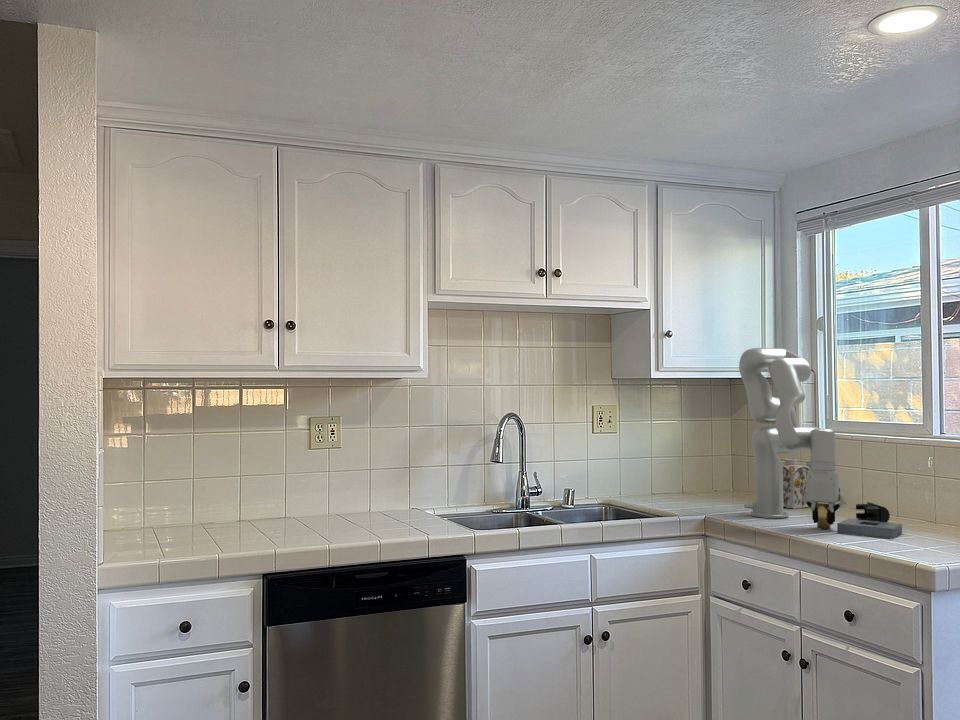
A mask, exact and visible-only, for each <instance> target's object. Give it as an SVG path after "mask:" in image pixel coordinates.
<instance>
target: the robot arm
mask: <svg viewBox="0 0 960 720" xmlns="http://www.w3.org/2000/svg"><path fill="white" fill-rule="evenodd" d="M738 364H739V365H738V366H739V367H738V368H739V374H740V376H741V379H742V383H743V384H744V388H745V392H746V397H747V398H746V399H747V402H748V408H749V413H750V416H751V419H752V421H754V422H755V424H763V425H766V424H767V425H771V424H775V426H761V427H759V428H756V429H755V430H754V431H753V433H752V434H751V439H750V440H751V447H752V451H753V459H754V499H755V501H754V502H744V504H743V505H744V508H745V509H751V510H752V511H750V516H751V517H756V518H763V519H785V517H786V518H788V517H789V513H788V512H785V511H784V508H783V465H782V464H783V462H782V460H781V459H780V456H779V455H778V454H791V453H795V452H797V451H801V450H802V451H803V450H805V451H807V450H808V451H809V450H810V460H809V462H807V461H806V464H805V465H806V466H808V467H809V468H810V470H808V473H807V479H806V490H805V494H804V496H803V497H802V498H801V500H802V501H803V502H804V503H806V504H807V505H808V506H809V507H810V510H811V511H812V512H811V513H812V514H811V516H812V517H811V518H812V521H813V524H817V503H829V508H830V512H829V513H828V524H829V525H830V526H831V525H834V523H835V522H836V512H837V510H839V509H840V508H841V507H843V506H844V505H846V504H847V500H846V499H845V498H844V497H843V494H842V492H841V491H842V490H841V484H840V477H839V473H838V471H836V469H837V468H836V432H835V431H834V430H833V429H831V428H820V427H816V426H815V427H814V426H799V422H798V418H797V413H796V409H795V407H796V406H798V405H800V404H801V403H803V402H805V399H806V393H805V392H804V389H803V387H802V382H803V383H804V382H806V381H808V379H810V377H811V373H812V372H811V371H812V370H811V366H810V364H809V362H808V361H807V360H806V359H805V358H804V357H802V356H800V355H798V354H796V353H794V352H792V351H789V350H788V349H786V348H779V347H778V348H777V347H754V348H748V349H747V350H745V351H743V353H742V354H741V356H740V358H739V361H738ZM762 372H769V375H770V378H771V381H772V385H773V386H774V389H775V392H776V395H777V397H776V396H773V394H772V390H771V389H772V388H771V385H770V383H769V381H768V379H767V378H766V377H765V375H763V373H762ZM811 501H812V502H811ZM837 502H838V503H837Z"/></svg>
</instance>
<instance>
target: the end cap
mask: <svg viewBox="0 0 960 720" xmlns="http://www.w3.org/2000/svg"><path fill="white" fill-rule="evenodd" d="M855 510H856V511H857V510H859V511H861V510H863V511H864V512H862V513H861V512H857V513H855V517H856V518H855V519H858V520H868V521H879V522H889V520H890V519H891V516H890V515H891V514H890V511H889V509H888V508H886V507H885V506H882V505H880V504H876V503H874V502H873V503H872V502H868V501H867V502H866V503H857V504H856V505H855Z"/></svg>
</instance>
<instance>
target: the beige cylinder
mask: <svg viewBox="0 0 960 720" xmlns="http://www.w3.org/2000/svg"><path fill="white" fill-rule="evenodd" d="M829 512H830V508H829V503H824V502H818V503H817V523H816V527H817V529H818V528H821V529H820V530H830V529H831V525H829V524H828V513H829Z"/></svg>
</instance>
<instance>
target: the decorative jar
mask: <svg viewBox="0 0 960 720" xmlns="http://www.w3.org/2000/svg"><path fill="white" fill-rule="evenodd" d="M782 465H783V507H786V508H785V509H788V508H793V509H792V510H795V509H794V508H800V509H806V508H805V507H809V506H808V505H807V504H806V503H804V502H803V501H802V500H801V498H802V497H803V496H804V494H805V490H806V479H807V473H808V470H811V469H810V467H809V466H806V464H800V463H799V461H798V459H790V458H785V459H784V463H783V462H782ZM811 502H812V501H811Z"/></svg>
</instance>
